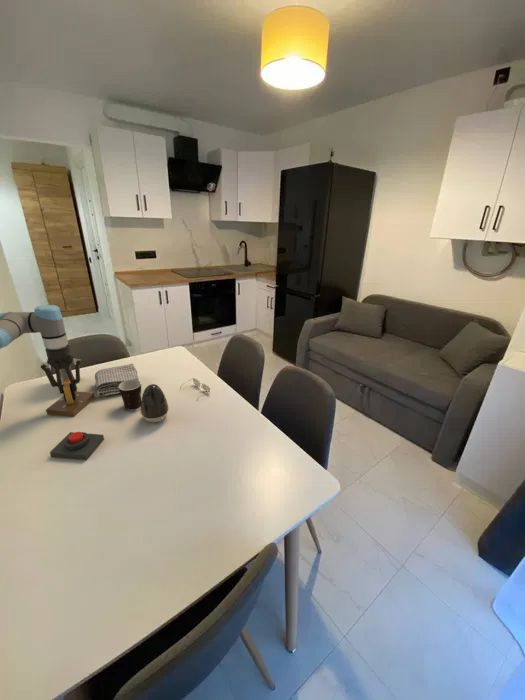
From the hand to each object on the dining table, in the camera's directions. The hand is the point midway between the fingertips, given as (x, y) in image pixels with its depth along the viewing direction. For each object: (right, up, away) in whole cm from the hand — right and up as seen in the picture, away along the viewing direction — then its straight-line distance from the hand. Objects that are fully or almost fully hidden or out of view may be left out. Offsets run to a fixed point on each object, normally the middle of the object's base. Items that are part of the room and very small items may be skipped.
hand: (70, 398), depth 119 cm
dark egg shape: (+36, -7, -4) cm, 37 cm away
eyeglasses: (+48, 0, +15) cm, 50 cm away
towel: (+12, +3, +17) cm, 21 cm away
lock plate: (0, -3, +1) cm, 3 cm away
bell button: (+16, -10, -22) cm, 29 cm away
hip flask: (-11, +3, +16) cm, 20 cm away
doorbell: (+16, -13, -20) cm, 29 cm away
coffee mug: (+24, -4, +2) cm, 24 cm away
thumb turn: (0, -1, 0) cm, 1 cm away
